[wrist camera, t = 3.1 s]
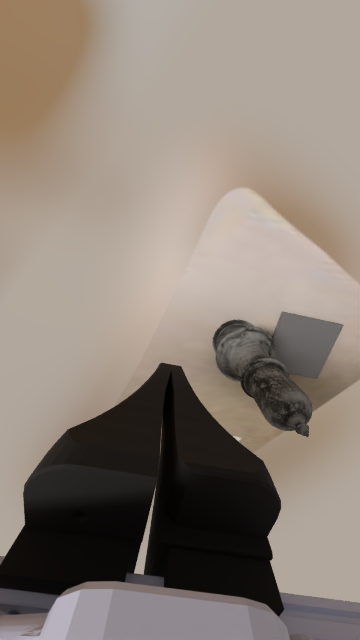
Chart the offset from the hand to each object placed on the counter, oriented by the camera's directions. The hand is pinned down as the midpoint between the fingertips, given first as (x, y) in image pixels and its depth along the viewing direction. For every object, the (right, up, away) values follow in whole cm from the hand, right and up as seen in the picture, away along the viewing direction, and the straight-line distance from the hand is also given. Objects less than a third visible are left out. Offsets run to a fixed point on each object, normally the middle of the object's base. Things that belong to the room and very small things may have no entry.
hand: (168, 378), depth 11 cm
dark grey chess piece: (+7, +1, +10) cm, 12 cm away
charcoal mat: (+15, +1, +9) cm, 18 cm away
